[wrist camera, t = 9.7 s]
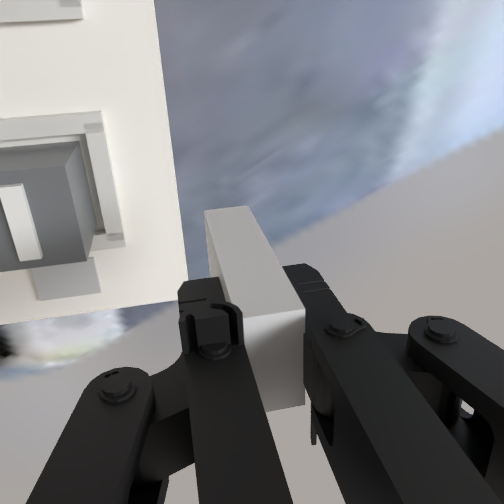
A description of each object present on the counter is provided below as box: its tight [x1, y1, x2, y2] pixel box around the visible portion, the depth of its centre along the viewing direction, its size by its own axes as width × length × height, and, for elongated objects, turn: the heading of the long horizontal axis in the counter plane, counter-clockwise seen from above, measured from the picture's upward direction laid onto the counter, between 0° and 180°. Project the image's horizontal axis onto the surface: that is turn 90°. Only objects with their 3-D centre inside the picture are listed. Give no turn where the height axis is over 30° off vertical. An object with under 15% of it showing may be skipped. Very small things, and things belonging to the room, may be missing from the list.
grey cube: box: [0, 141, 97, 272], centre depth 19 cm, size 4×4×4 cm
